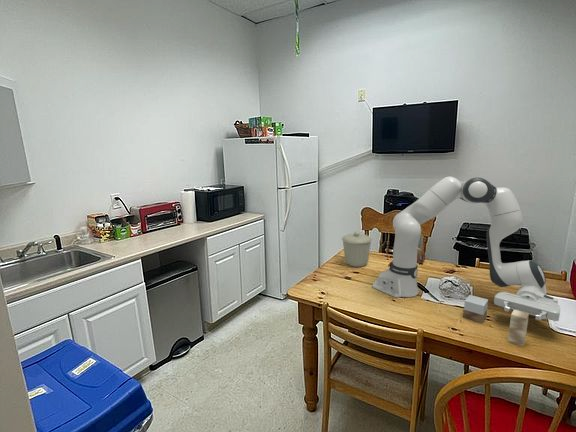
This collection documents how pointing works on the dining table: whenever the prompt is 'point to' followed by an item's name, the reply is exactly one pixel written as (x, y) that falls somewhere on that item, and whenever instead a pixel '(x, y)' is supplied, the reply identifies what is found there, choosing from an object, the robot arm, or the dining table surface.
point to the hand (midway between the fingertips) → (521, 313)
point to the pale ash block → (518, 327)
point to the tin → (420, 256)
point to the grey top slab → (476, 304)
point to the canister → (356, 249)
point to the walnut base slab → (474, 316)
